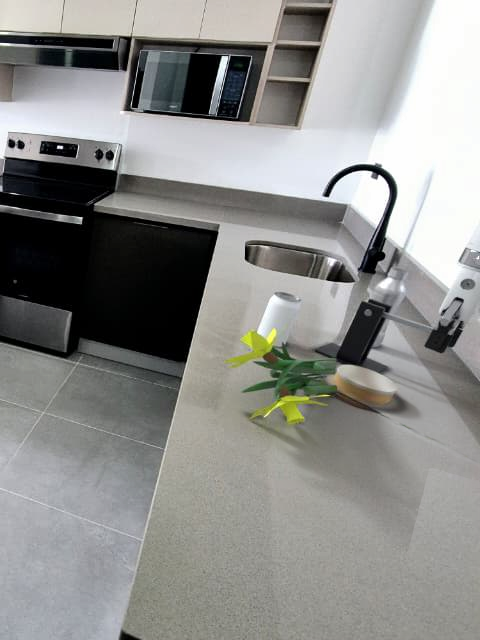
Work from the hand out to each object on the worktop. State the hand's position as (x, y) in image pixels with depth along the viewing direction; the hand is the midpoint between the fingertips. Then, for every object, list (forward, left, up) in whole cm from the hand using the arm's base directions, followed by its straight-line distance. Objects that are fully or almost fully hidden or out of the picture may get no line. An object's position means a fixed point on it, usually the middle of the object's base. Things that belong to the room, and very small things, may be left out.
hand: (439, 346), depth 101 cm
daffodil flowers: (+30, +23, -11) cm, 39 cm away
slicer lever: (+5, -4, +1) cm, 7 cm away
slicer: (+11, -7, -11) cm, 17 cm away
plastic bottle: (+4, -22, -11) cm, 25 cm away
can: (+28, -7, -11) cm, 31 cm away
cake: (+13, +9, -11) cm, 19 cm away
